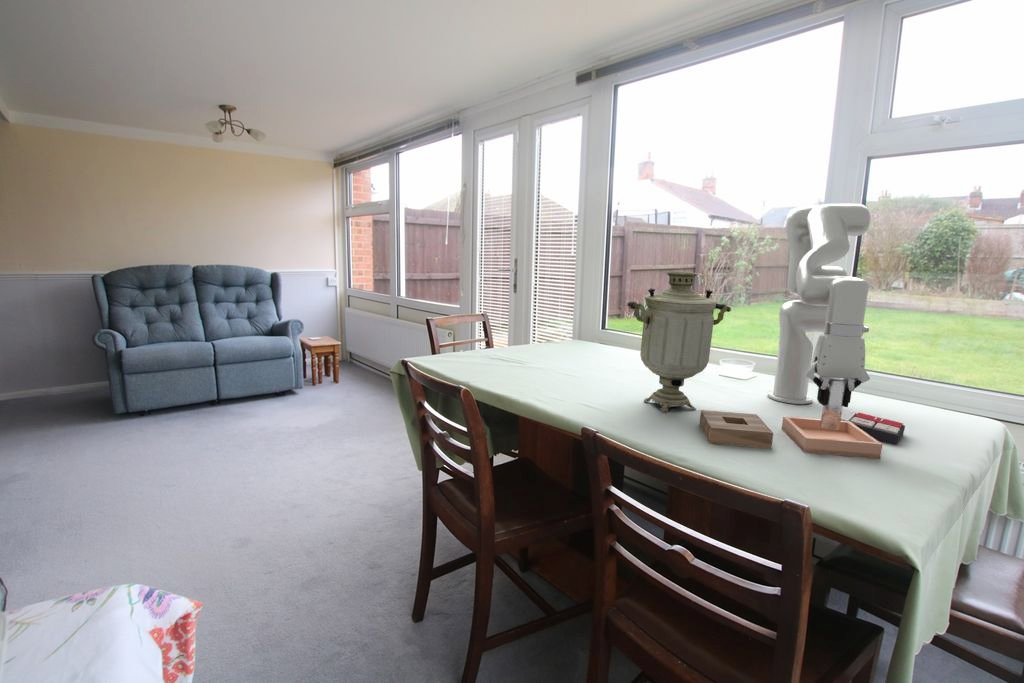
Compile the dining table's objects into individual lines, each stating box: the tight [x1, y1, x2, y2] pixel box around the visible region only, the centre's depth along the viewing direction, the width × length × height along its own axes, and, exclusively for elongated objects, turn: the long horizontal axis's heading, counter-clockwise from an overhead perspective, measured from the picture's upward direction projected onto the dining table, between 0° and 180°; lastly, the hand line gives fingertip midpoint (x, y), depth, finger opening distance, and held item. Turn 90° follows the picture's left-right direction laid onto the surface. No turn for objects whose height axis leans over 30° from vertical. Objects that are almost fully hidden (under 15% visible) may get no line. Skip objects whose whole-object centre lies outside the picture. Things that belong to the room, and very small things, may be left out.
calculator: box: [841, 408, 906, 446], centre depth 132 cm, size 11×4×15 cm
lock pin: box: [820, 378, 846, 430], centre depth 122 cm, size 4×4×12 cm
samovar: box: [627, 271, 732, 414], centre depth 150 cm, size 30×26×40 cm
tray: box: [781, 415, 883, 460], centre depth 124 cm, size 16×16×4 cm
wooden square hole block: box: [699, 409, 774, 450], centre depth 127 cm, size 14×14×4 cm
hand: (832, 404), depth 122 cm, fingers closed on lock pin, 4 cm apart
